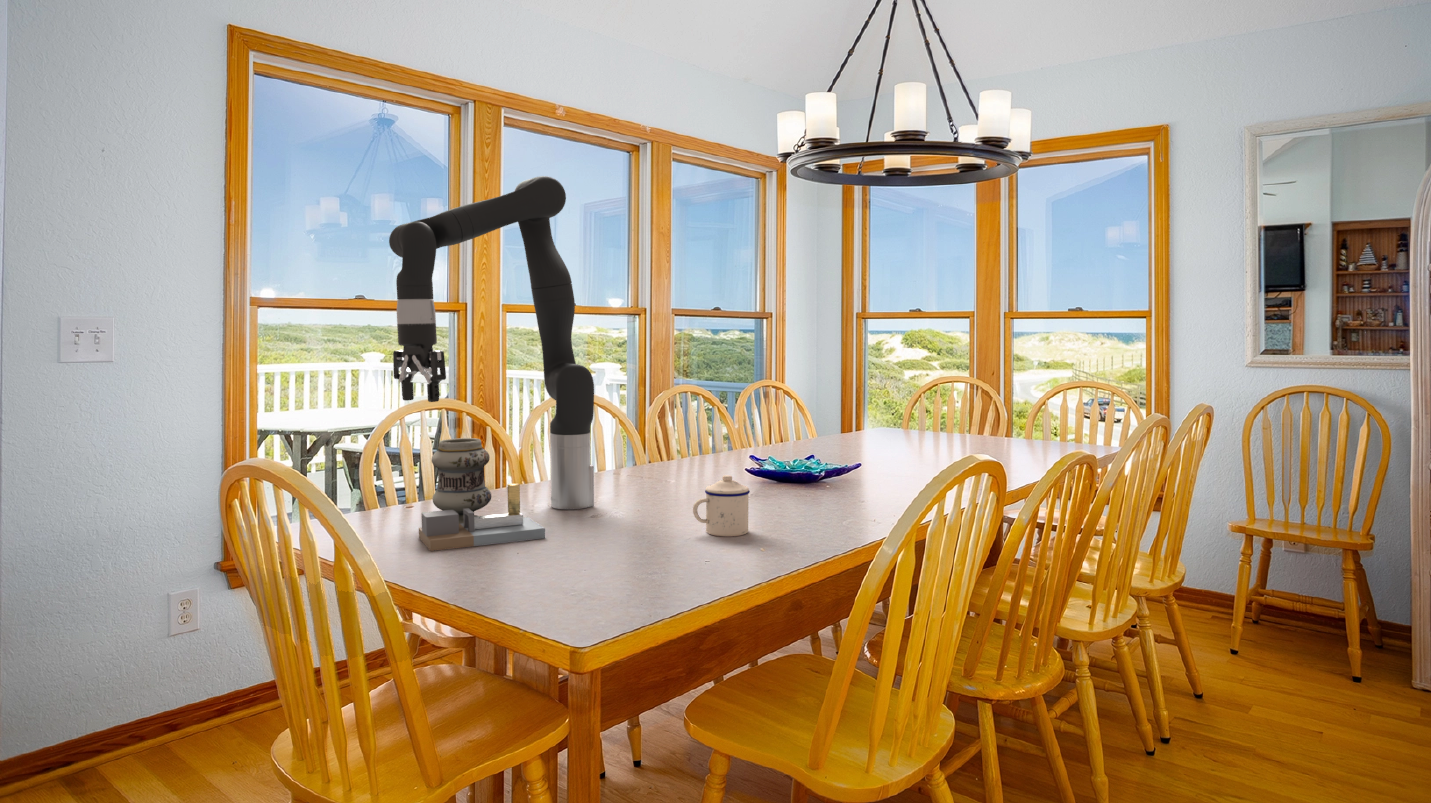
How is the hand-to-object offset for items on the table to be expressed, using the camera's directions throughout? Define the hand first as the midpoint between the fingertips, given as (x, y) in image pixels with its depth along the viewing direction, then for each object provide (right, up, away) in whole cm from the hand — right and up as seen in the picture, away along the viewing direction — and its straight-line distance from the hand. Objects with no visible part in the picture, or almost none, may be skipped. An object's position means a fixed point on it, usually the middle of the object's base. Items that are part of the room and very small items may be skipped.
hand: (420, 400), depth 184 cm
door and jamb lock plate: (+14, -27, -7) cm, 32 cm away
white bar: (+17, -25, -6) cm, 31 cm away
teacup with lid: (+62, -27, -2) cm, 67 cm away
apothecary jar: (+7, -26, +6) cm, 28 cm away
